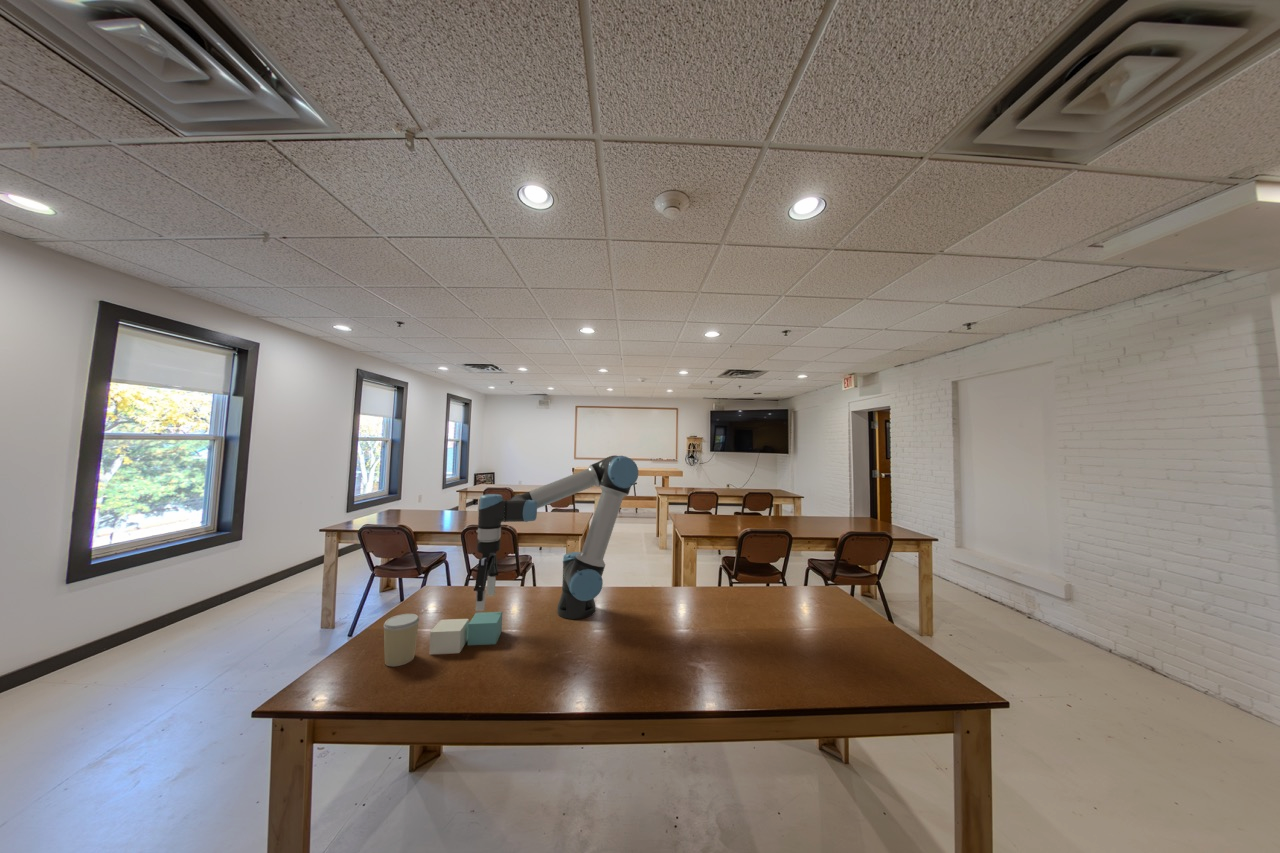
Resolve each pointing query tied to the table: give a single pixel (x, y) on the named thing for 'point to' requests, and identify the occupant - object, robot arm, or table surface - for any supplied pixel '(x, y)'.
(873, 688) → the table surface
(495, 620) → the teal block
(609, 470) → the robot arm
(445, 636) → the cream block
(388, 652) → the coffee cup
